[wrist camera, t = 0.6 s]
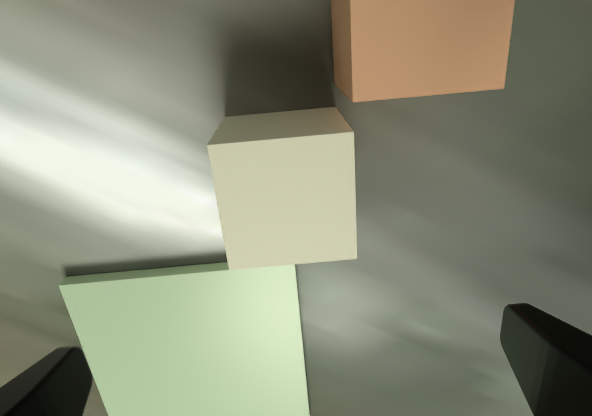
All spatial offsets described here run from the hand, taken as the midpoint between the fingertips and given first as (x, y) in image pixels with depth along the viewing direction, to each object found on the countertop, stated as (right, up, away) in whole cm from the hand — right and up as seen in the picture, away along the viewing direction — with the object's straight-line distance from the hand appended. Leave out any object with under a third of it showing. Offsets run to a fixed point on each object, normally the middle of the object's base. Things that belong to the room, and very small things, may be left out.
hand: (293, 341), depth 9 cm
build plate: (-6, -6, +15) cm, 17 cm away
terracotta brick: (+4, +11, +8) cm, 14 cm away
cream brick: (0, +5, +11) cm, 12 cm away
